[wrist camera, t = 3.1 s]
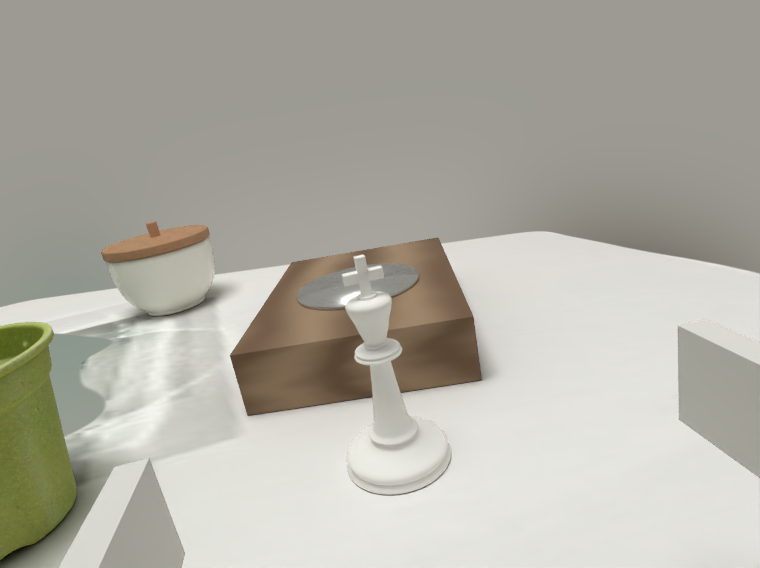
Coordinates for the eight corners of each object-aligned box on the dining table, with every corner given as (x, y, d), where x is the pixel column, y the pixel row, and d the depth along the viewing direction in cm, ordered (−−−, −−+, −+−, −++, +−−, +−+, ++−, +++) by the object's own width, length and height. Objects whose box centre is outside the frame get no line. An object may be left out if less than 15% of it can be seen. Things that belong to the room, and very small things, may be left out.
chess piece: (341, 443, 26) (297, 256, 23) (433, 417, 27) (402, 233, 24) (356, 508, 21) (303, 286, 18) (466, 476, 22) (433, 256, 19)
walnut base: (247, 415, 30) (228, 350, 29) (301, 301, 49) (291, 259, 48) (481, 380, 29) (472, 311, 28) (444, 278, 48) (437, 234, 47)
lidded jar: (151, 331, 49) (118, 237, 46) (110, 317, 56) (80, 235, 53) (244, 292, 56) (221, 209, 53) (197, 284, 63) (175, 211, 60)
